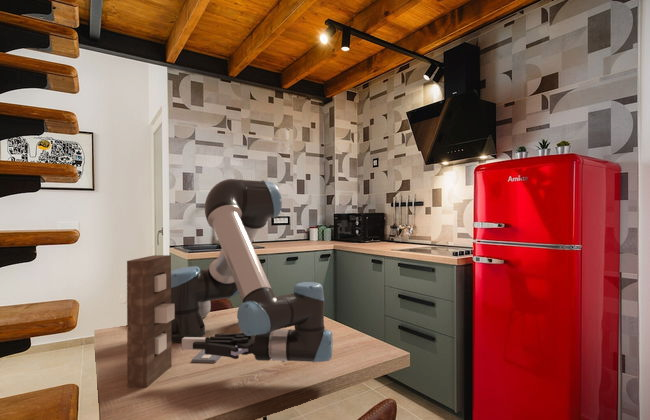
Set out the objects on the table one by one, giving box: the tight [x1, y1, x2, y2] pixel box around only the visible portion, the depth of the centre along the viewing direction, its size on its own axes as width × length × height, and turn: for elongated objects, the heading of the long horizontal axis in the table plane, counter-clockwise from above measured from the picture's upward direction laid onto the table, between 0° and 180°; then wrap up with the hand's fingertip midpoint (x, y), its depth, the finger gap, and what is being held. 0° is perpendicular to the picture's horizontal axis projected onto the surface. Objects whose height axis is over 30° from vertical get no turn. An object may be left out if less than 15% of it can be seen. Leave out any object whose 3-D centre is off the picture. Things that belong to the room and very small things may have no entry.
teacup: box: [200, 301, 212, 319], centre depth 148 cm, size 14×11×8 cm
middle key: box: [154, 304, 175, 323], centre depth 93 cm, size 4×4×4 cm
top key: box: [154, 274, 166, 292], centre depth 93 cm, size 4×4×4 cm
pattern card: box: [191, 350, 222, 363], centre depth 106 cm, size 7×10×1 cm
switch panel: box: [126, 254, 172, 388], centre depth 93 cm, size 5×12×31 cm, turn 176°
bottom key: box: [155, 333, 167, 354], centre depth 93 cm, size 4×4×4 cm
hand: (183, 343), depth 92 cm, fingers closed
